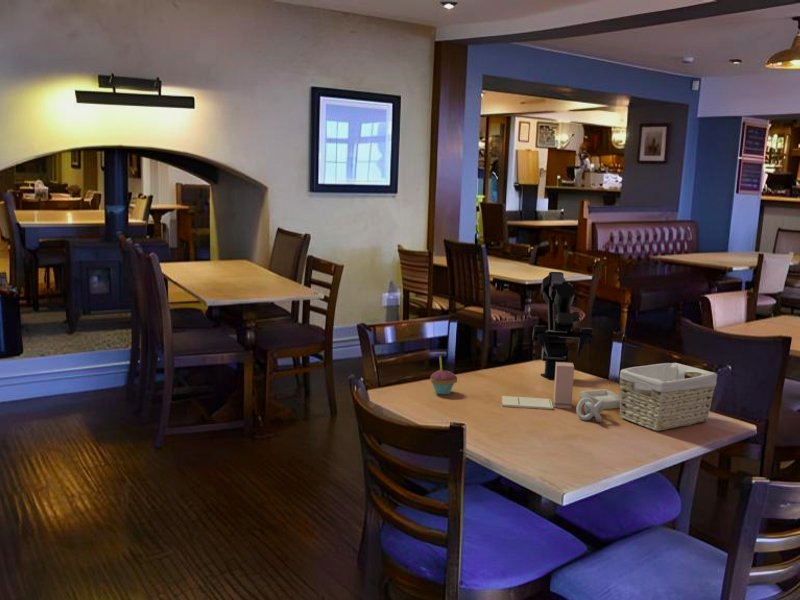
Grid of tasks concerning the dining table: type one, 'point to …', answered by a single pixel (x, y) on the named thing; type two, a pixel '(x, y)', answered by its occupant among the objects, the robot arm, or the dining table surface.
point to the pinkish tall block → (563, 385)
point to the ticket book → (526, 402)
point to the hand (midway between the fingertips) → (563, 357)
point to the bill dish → (602, 397)
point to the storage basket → (666, 395)
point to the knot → (589, 406)
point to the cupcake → (443, 380)
